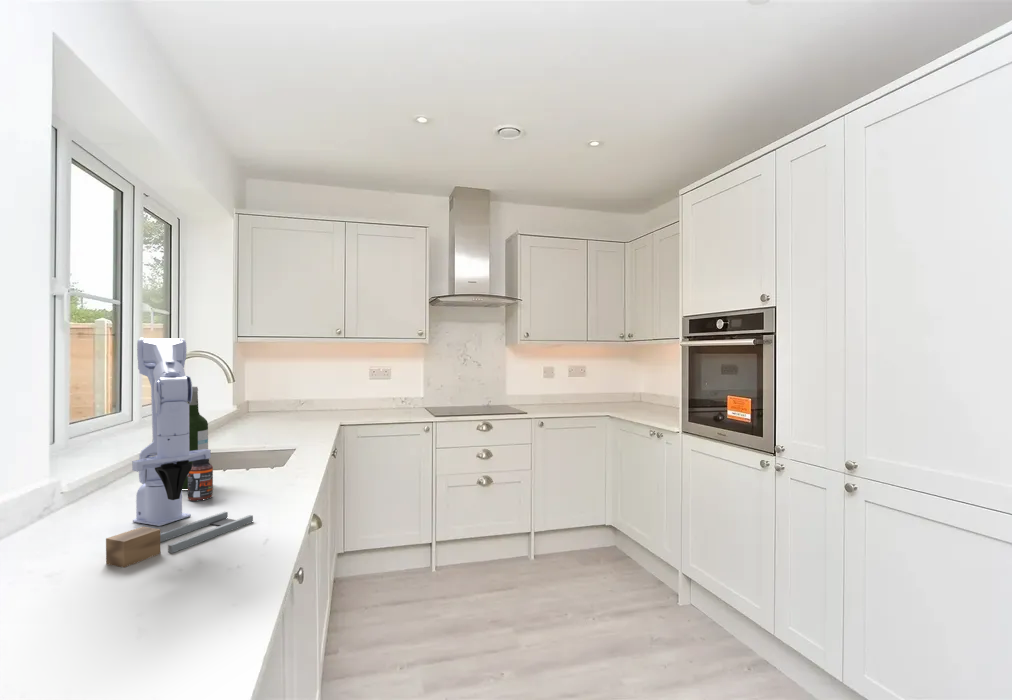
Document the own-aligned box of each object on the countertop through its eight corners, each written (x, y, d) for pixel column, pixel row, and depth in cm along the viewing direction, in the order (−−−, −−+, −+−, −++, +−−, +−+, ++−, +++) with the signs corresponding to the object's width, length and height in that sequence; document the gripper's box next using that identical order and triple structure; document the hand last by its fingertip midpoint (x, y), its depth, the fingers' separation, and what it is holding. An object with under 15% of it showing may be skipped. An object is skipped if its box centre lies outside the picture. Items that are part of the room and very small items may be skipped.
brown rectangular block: (106, 564, 98) (105, 538, 98) (143, 551, 104) (142, 526, 104) (124, 568, 96) (123, 541, 96) (160, 554, 103) (160, 529, 103)
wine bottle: (181, 485, 156) (181, 386, 156) (211, 482, 158) (210, 385, 158) (173, 491, 148) (173, 388, 148) (204, 489, 151) (204, 387, 151)
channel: (141, 547, 106) (140, 540, 106) (224, 517, 125) (224, 511, 125) (171, 553, 103) (171, 545, 103) (252, 521, 121) (252, 515, 121)
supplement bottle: (201, 502, 138) (201, 460, 138) (182, 501, 139) (182, 459, 139) (217, 496, 143) (217, 455, 143) (199, 495, 145) (199, 454, 145)
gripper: (144, 440, 100) (145, 510, 99) (218, 430, 112) (218, 492, 112) (126, 438, 103) (127, 505, 103) (200, 428, 116) (200, 488, 116)
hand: (173, 498), depth 108 cm, fingers closed
